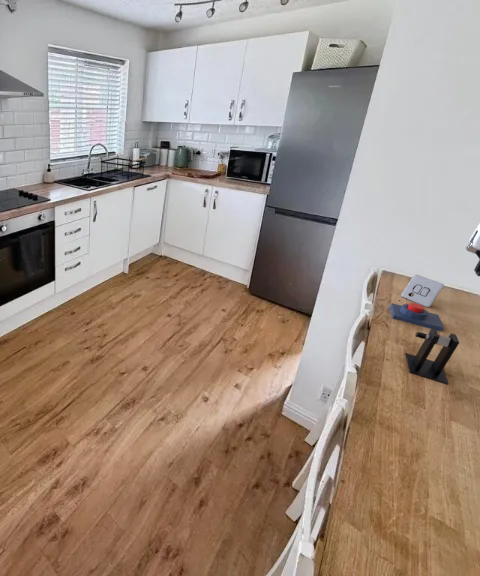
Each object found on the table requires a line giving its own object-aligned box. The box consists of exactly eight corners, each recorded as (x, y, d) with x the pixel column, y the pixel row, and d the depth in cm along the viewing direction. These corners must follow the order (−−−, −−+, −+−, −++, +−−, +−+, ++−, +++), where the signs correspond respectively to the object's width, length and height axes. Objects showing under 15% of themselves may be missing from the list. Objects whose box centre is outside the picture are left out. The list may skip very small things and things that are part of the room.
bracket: (403, 356, 105) (422, 321, 100) (439, 366, 101) (460, 331, 96) (407, 375, 97) (428, 338, 92) (446, 387, 94) (470, 350, 88)
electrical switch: (399, 296, 139) (412, 274, 135) (406, 295, 141) (418, 273, 137) (428, 308, 132) (442, 285, 128) (434, 306, 134) (448, 283, 130)
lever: (414, 337, 107) (417, 329, 106) (436, 343, 104) (439, 335, 104) (429, 342, 95) (433, 333, 95) (454, 349, 93) (458, 340, 92)
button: (421, 309, 123) (423, 305, 122) (422, 314, 120) (425, 310, 119) (406, 306, 125) (408, 301, 124) (407, 311, 122) (410, 306, 121)
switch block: (435, 320, 124) (441, 310, 122) (440, 333, 117) (446, 323, 115) (388, 308, 130) (393, 298, 128) (391, 320, 123) (396, 310, 121)
